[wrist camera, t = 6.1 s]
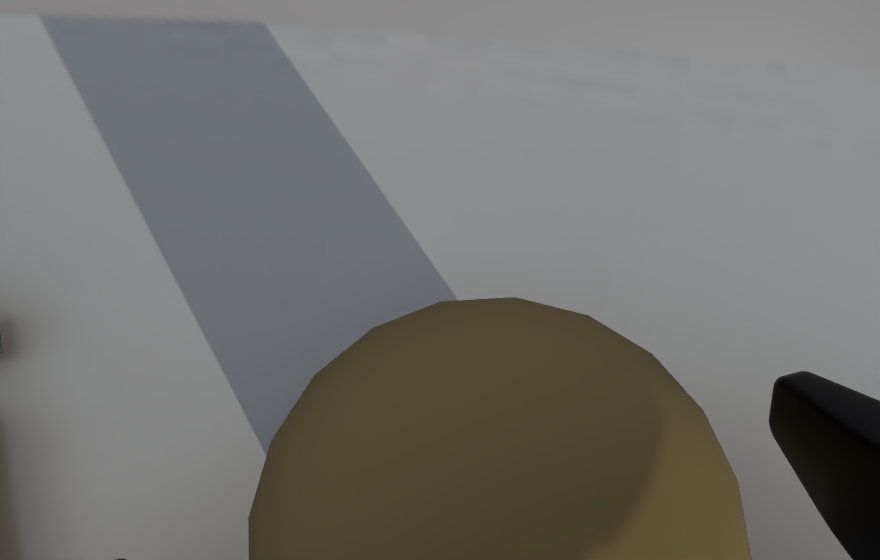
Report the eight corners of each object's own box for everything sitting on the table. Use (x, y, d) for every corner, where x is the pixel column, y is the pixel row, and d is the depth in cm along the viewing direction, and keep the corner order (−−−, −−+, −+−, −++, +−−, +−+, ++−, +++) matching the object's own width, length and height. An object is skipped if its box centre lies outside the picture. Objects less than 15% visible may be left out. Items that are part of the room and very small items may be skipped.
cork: (373, 328, 18) (343, 125, 7) (604, 426, 17) (932, 367, 7) (263, 574, 16) (16, 786, 6) (515, 684, 16) (756, 1123, 5)
